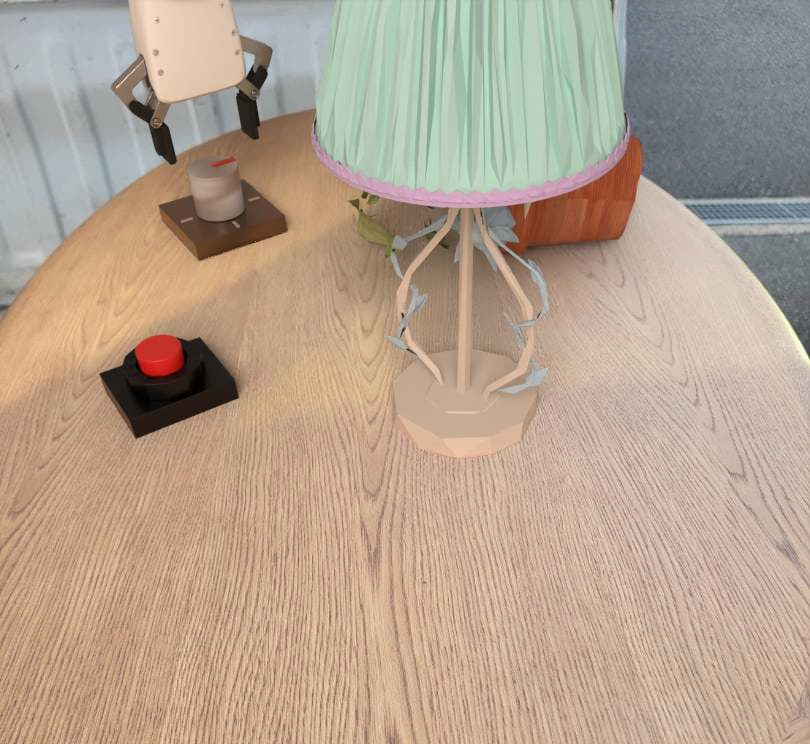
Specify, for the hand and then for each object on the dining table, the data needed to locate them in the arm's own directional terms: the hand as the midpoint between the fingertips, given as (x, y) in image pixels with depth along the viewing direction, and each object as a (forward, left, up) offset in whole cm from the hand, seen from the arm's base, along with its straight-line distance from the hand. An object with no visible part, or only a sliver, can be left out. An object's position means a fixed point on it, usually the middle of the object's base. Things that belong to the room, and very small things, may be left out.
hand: (210, 147), depth 95 cm
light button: (-17, -26, -5) cm, 32 cm away
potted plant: (+20, -20, -9) cm, 30 cm away
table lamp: (+4, -43, -9) cm, 44 cm away
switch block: (-17, -26, -9) cm, 32 cm away
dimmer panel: (0, 0, -9) cm, 9 cm away
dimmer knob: (0, 0, -7) cm, 7 cm away
